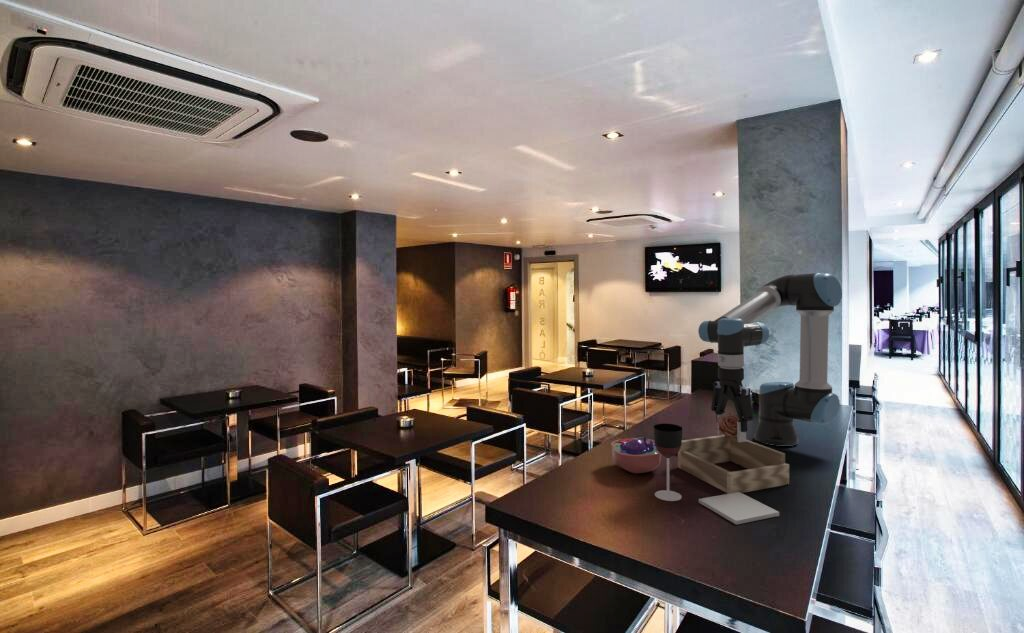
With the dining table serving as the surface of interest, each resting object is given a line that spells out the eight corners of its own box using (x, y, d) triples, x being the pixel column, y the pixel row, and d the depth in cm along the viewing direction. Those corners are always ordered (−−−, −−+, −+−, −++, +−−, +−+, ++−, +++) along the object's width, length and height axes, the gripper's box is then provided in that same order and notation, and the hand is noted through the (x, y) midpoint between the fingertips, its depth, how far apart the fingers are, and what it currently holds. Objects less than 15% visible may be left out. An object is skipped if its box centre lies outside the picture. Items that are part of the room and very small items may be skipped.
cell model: (667, 463, 167) (666, 431, 167) (658, 484, 149) (658, 448, 149) (618, 457, 175) (617, 426, 174) (604, 476, 156) (604, 442, 156)
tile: (738, 495, 140) (738, 491, 140) (779, 515, 127) (779, 512, 127) (698, 502, 136) (698, 499, 136) (736, 524, 123) (736, 520, 123)
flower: (710, 428, 161) (713, 414, 156) (734, 421, 162) (737, 407, 157) (725, 450, 154) (728, 436, 149) (750, 443, 155) (754, 429, 150)
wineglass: (682, 491, 144) (682, 424, 143) (682, 503, 136) (682, 432, 135) (654, 488, 146) (654, 422, 146) (653, 499, 138) (652, 430, 137)
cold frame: (730, 459, 170) (730, 433, 170) (789, 484, 148) (789, 455, 147) (677, 467, 163) (677, 441, 163) (730, 494, 141) (730, 464, 140)
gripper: (698, 363, 163) (699, 430, 164) (746, 372, 143) (747, 449, 144) (717, 361, 165) (717, 427, 166) (766, 370, 145) (767, 445, 146)
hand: (731, 437), depth 155 cm, fingers closed on flower, 8 cm apart
